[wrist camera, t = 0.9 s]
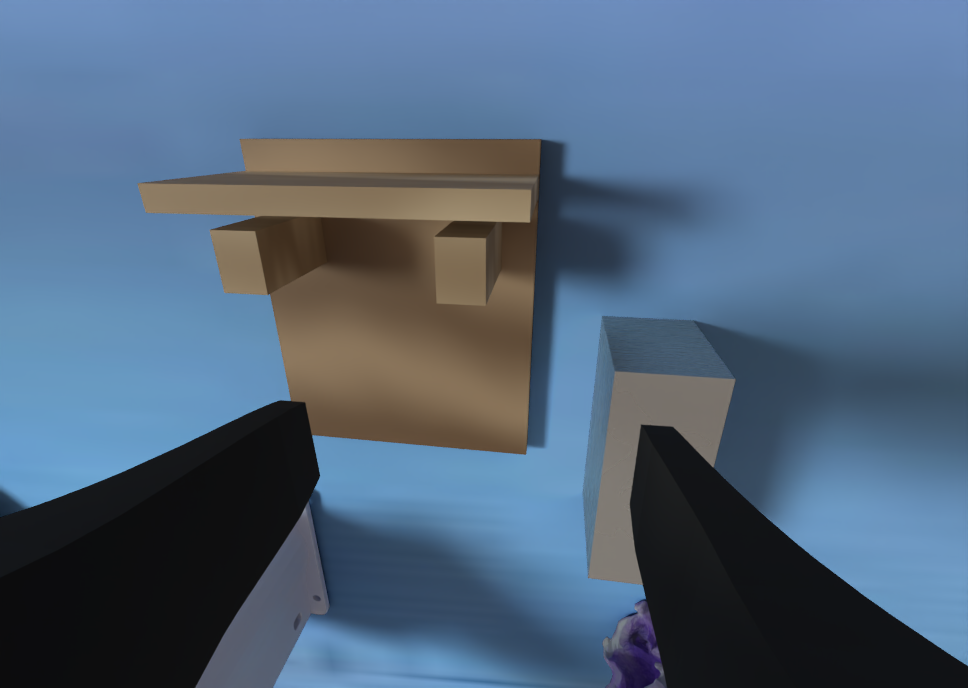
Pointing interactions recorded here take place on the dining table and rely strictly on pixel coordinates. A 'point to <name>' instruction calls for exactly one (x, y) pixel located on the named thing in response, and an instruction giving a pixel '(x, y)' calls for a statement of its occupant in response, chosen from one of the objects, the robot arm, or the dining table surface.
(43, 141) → the dining table surface
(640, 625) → the flower
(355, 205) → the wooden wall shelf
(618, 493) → the gray rectangular block
